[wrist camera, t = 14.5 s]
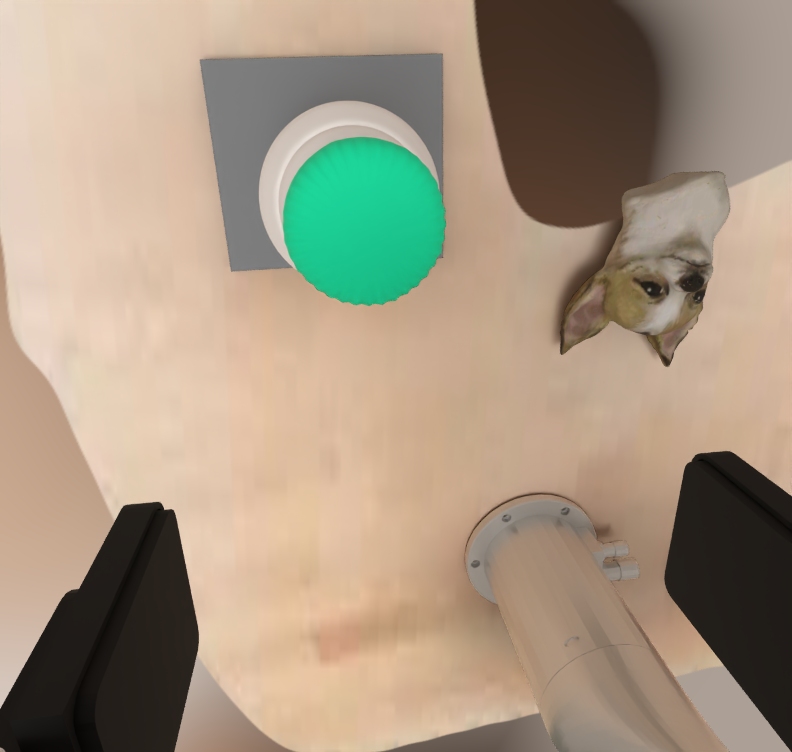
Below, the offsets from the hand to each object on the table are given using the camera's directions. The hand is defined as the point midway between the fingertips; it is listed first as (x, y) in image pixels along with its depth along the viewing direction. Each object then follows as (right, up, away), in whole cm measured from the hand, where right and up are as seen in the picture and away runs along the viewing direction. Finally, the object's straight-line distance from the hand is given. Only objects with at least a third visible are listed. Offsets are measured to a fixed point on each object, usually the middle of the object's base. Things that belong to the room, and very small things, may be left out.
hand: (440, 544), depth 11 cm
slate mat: (-5, +17, +29) cm, 34 cm away
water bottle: (-5, +17, +28) cm, 33 cm away
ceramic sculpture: (+18, +12, +35) cm, 41 cm away
